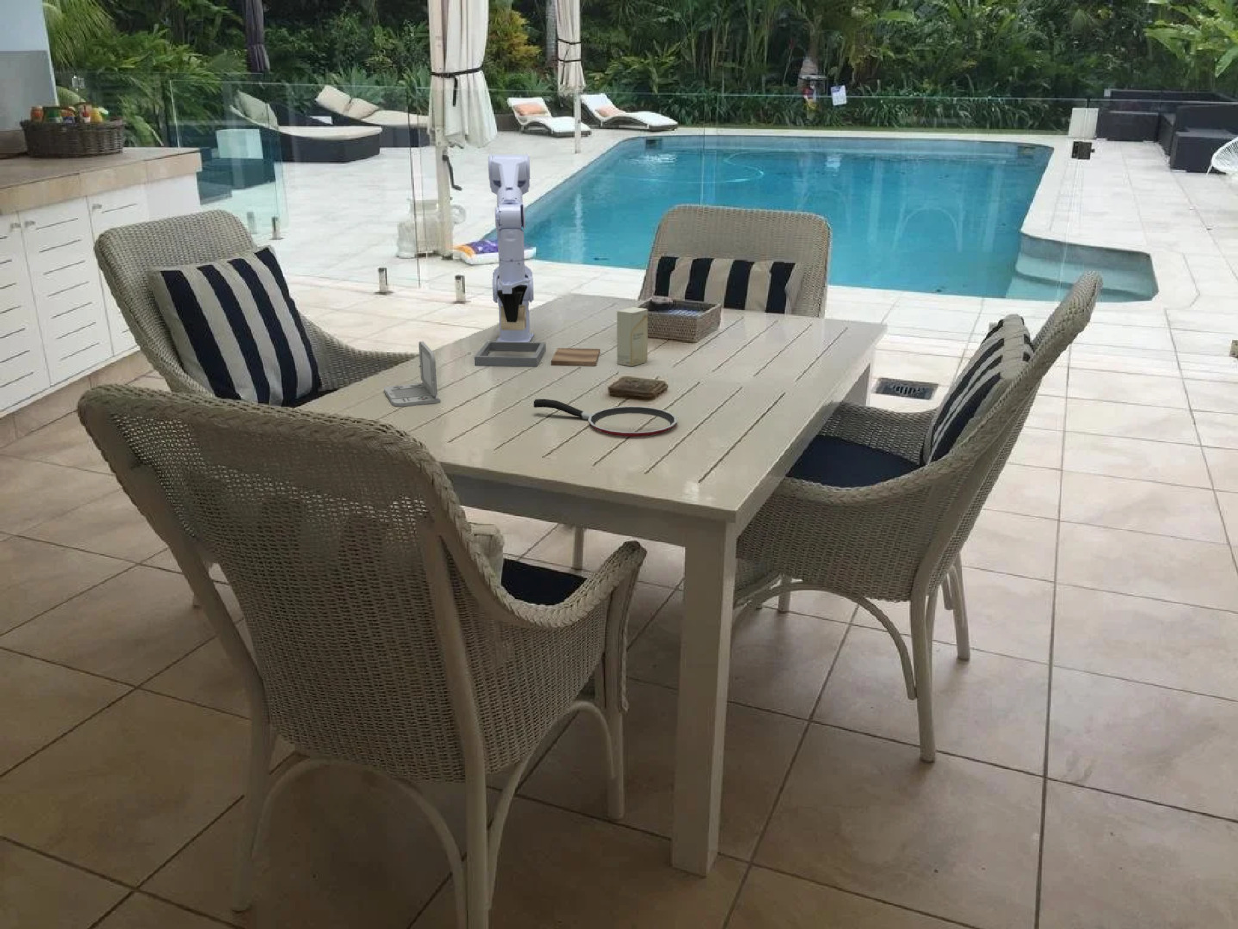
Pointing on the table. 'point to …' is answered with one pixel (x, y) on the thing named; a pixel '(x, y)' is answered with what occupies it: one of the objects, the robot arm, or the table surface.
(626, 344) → the skincare box
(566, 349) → the walnut board
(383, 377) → the table surface
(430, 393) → the handheld gaming console
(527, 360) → the grey bin
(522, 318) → the maple block
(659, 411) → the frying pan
